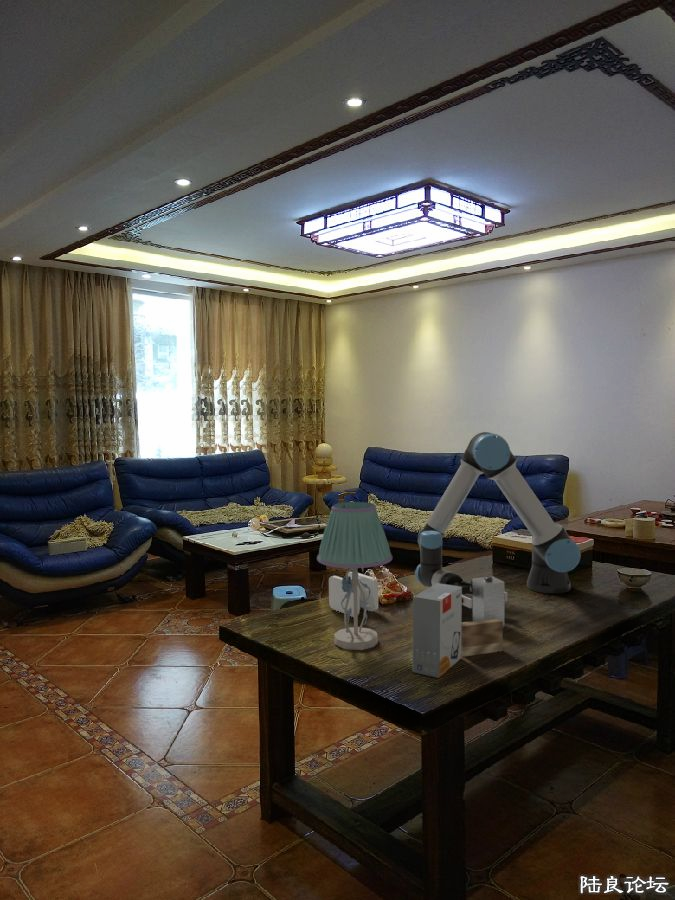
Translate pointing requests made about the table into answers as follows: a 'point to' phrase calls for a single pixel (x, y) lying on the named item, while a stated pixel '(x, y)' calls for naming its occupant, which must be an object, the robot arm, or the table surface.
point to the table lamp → (354, 561)
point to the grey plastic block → (338, 595)
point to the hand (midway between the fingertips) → (489, 600)
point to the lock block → (488, 599)
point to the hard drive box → (437, 629)
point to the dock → (481, 637)
